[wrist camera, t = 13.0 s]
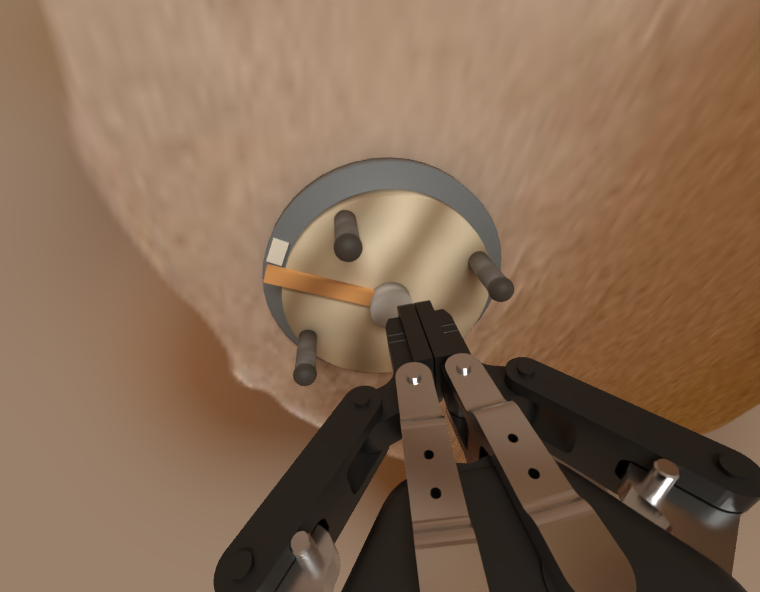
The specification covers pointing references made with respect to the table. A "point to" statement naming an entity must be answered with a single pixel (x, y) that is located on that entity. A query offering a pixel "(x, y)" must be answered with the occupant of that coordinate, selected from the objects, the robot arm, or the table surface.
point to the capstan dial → (380, 276)
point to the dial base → (365, 179)
